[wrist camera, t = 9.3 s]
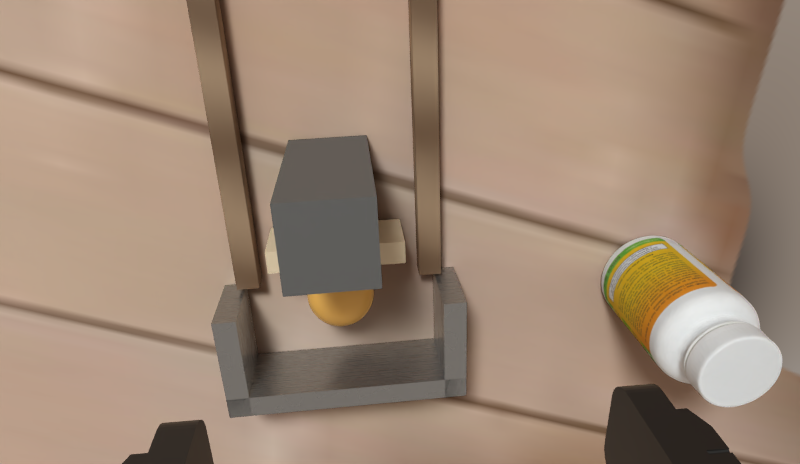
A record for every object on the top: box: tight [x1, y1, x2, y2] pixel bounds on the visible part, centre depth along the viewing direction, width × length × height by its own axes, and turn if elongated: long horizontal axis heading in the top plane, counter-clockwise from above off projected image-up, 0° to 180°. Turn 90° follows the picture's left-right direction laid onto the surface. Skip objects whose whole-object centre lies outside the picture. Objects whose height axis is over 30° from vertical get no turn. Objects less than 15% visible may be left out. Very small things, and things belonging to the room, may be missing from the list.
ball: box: [308, 289, 374, 326], centre depth 33 cm, size 4×4×4 cm
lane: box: [186, 0, 441, 290], centre depth 30 cm, size 17×11×1 cm, turn 2°
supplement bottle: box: [601, 236, 782, 407], centre depth 32 cm, size 5×5×10 cm
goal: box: [211, 267, 467, 418], centre depth 34 cm, size 6×13×4 cm, turn 92°
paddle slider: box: [265, 135, 406, 297], centre depth 28 cm, size 6×7×9 cm
